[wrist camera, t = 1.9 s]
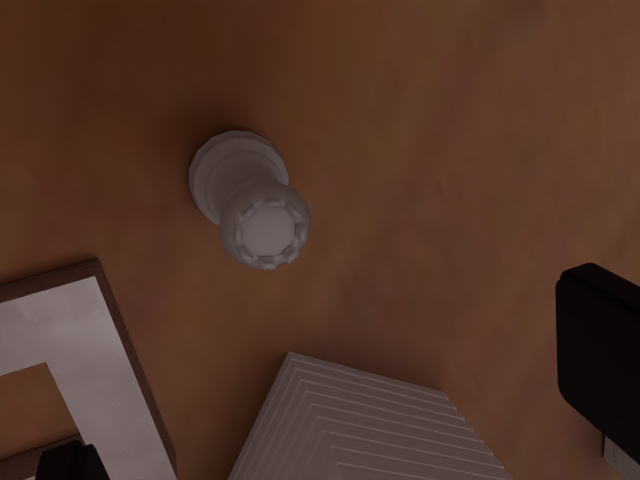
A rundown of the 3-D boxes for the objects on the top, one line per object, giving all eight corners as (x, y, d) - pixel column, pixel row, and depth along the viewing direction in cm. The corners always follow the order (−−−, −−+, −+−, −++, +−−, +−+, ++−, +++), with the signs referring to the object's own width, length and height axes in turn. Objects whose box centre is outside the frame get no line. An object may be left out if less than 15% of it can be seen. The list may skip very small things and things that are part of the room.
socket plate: (-196, 341, 23) (-225, 367, 21) (98, 258, 25) (94, 276, 23) (-62, 537, 28) (-76, 572, 26) (175, 453, 30) (177, 480, 28)
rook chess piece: (270, 230, 27) (314, 303, 20) (177, 212, 26) (189, 285, 18) (295, 141, 26) (351, 186, 19) (199, 116, 24) (221, 155, 17)
